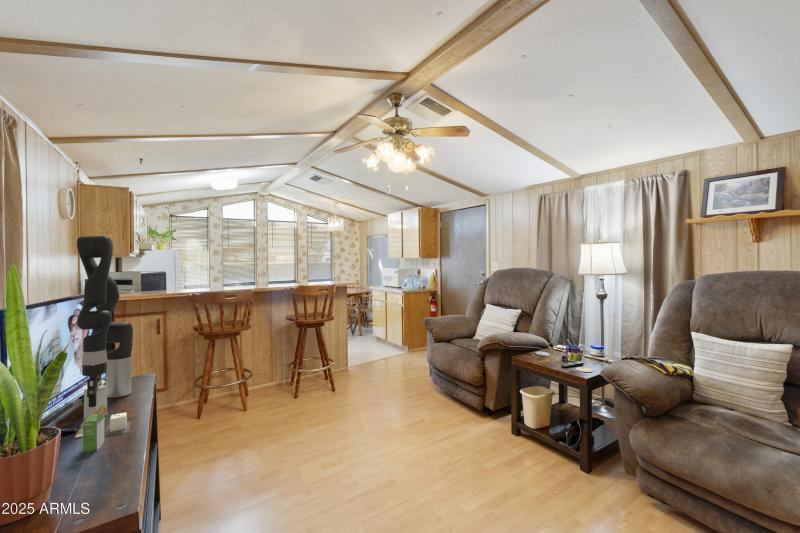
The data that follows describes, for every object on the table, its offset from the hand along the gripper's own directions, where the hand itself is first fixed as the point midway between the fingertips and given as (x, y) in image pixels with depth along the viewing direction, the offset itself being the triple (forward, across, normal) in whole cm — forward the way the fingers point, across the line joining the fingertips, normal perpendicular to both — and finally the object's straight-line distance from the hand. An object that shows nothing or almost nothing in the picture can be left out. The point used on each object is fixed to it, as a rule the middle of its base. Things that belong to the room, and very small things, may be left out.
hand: (94, 403), depth 144 cm
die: (+6, +16, +9) cm, 19 cm away
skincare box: (+6, 0, 0) cm, 6 cm away
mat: (+6, +17, +9) cm, 20 cm away
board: (+6, +11, 0) cm, 13 cm away
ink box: (+6, +29, +4) cm, 30 cm away
